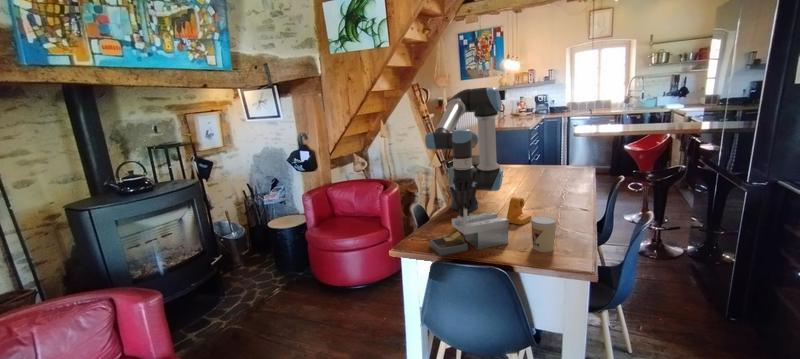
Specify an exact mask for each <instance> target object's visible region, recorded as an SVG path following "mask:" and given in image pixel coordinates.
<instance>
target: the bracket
mask: <svg viewBox="0 0 800 359" xmlns="http://www.w3.org/2000/svg"><path fill="white" fill-rule="evenodd" d="M524 207H525V199H524V198H523V197H520V196H519V197H517V196H511V198H510V200H509V204H508V210H507V214H506V219H508V223H511V224H515V225H522V226H523V225H526V224H527V223H529V222H530V221H531V220H532V214H530V213H529V214H528V213H524V212H523V208H524Z"/></svg>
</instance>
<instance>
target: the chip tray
mask: <svg viewBox="0 0 800 359" xmlns="http://www.w3.org/2000/svg"><path fill="white" fill-rule="evenodd" d="M449 237H452V236H451V235H449V236H445V237H439V238H433V239H429V245H430V246H429V247H430V248H431V249H432V250H433V251H434V252H436V254H438V256H439V257H443V256H450V255H454V254H459V253H460V254H461V253H465V252H468V251H469V250H468V249H469V248H468V247H469V246H468V243H467V242H466V241H464V242H462V243H461V244H459V245H457V243H456V242H455V241H454V246H452V247H446V248H445V247H444V238H449Z"/></svg>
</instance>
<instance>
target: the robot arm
mask: <svg viewBox="0 0 800 359" xmlns="http://www.w3.org/2000/svg"><path fill="white" fill-rule="evenodd" d="M501 110H502V99H501V95H500V91H499V89H498V88H497V87H493V86H492V87H489V86H487V87H475V88H465V89H462V90H460V91H458V92H457V93H456V94H454V95H453V96H452V97H451V98H450V99H449V100H448V101H447V103H446V110H445V112H444V114H443V115H442V118H440V121H439V123H438V125H437V127H436V129H435V130H434V132H433V131H431V132H427V133H426V134H425V137H424V143H425V148H426V149H427V150H433V151H438V150H439V151H443V150H444V151H445V150H448V151H449V150H452V166H453V171H452V184H450V185H448V186H447V189H448V190H449V192H450V195H451V202H450V209H451V210H453V211H456V212H459V213H458V214H459V215H460V216H461V221H462V223H463V224H468V219H467V216H469V213H470V212H473V211H476V210H478V209H479V202H478V199H477V197H476V194H477V191H484V192H485V191H488V192H489V191H490V192H498V191H499V190H501V188H502V184H503V178H504V170H503V168H501V166H500V164H499V163H498V162H497V161H498V160H497V138H496V136H497V134H496V118H497V116H498V115H499V112H501ZM465 113H473V115H474V117H475V118H476V119H477V130H478V133H477V132H476V131H474V130H471V129H469V128H458V129H456V126H457V125H458V123H459V120H460V118H461V117H462V116H463V115H464V114H465ZM477 145H478V148H479V149H478V151H479V152H478V153H479V164H478V165H476V168H475V166H474V165H473V155H472V154H473V152H472V151H473V150H472V149H474V148H475V147H476V146H477ZM459 215H458V216H459Z"/></svg>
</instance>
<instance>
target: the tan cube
mask: <svg viewBox="0 0 800 359" xmlns="http://www.w3.org/2000/svg"><path fill="white" fill-rule="evenodd" d="M450 236H452V238H453V239H454V241H455V242H456V243H457V245H459V244H461V243H462V242H466V240H465V237H463V236H462V233H461V232H460V231H459V230H457V231H456V232H455V233H453V234H452V235H450Z"/></svg>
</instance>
